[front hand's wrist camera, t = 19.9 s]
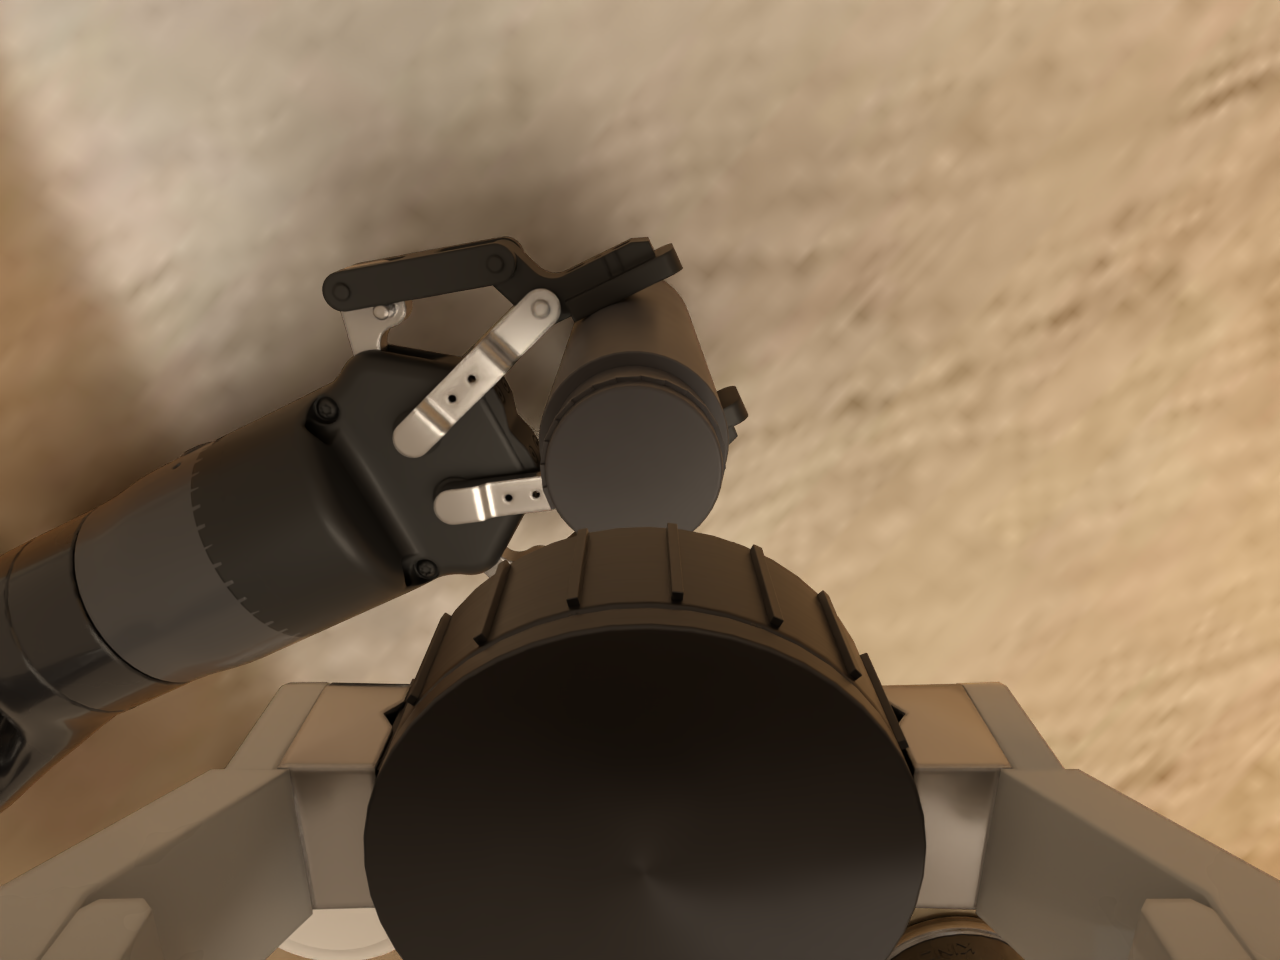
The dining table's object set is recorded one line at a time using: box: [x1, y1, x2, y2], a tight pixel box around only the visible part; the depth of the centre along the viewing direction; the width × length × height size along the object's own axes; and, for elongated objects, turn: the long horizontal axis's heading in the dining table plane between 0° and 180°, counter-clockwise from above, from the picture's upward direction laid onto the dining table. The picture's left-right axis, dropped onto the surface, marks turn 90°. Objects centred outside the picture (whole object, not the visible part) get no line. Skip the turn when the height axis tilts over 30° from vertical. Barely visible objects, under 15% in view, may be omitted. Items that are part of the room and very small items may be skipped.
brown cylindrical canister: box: [539, 280, 729, 533], centre depth 27 cm, size 4×4×16 cm
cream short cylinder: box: [278, 908, 395, 960], centre depth 41 cm, size 10×10×4 cm
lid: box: [363, 523, 927, 960], centre depth 9 cm, size 6×6×2 cm
